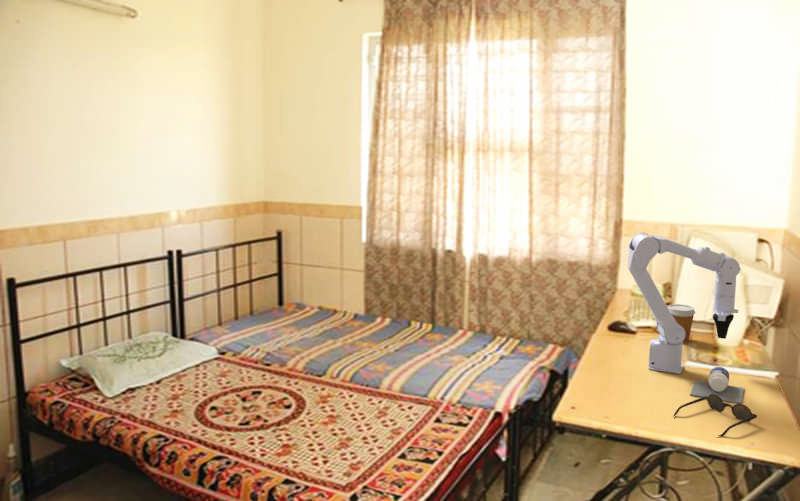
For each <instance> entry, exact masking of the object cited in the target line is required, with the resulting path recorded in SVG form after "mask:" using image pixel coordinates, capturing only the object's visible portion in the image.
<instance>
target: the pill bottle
mask: <svg viewBox="0 0 800 501" xmlns="http://www.w3.org/2000/svg"><path fill="white" fill-rule="evenodd" d="M708 374H709V375H708V381H707V382H709V385H710V386H711V388H712V389H713V390H715V391H718V392H720V391H723V390H724V389H726V388H727V386H728V385H729V384H730V373H729V371H728V369H726V368H725V367H723V366H715V367H713V368H711V369H710V371H709V373H708Z"/></svg>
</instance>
